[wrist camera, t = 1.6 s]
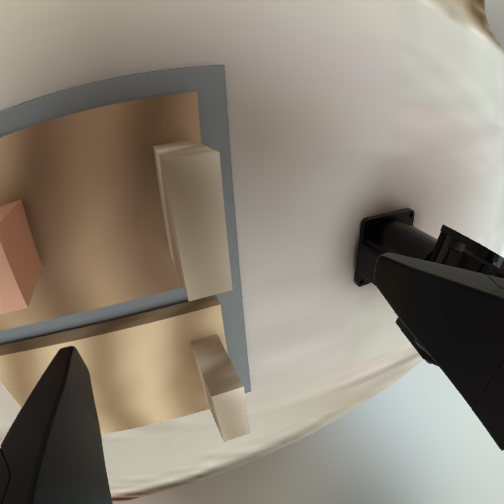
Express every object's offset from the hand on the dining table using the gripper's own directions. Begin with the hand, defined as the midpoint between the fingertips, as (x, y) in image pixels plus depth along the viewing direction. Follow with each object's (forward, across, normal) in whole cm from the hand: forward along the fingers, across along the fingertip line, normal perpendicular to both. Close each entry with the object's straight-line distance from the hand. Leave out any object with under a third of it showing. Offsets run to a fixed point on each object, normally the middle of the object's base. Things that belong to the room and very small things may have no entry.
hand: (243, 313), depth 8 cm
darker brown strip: (+12, +7, 0) cm, 14 cm away
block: (+10, +10, 0) cm, 14 cm away
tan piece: (+12, +8, +13) cm, 19 cm away
